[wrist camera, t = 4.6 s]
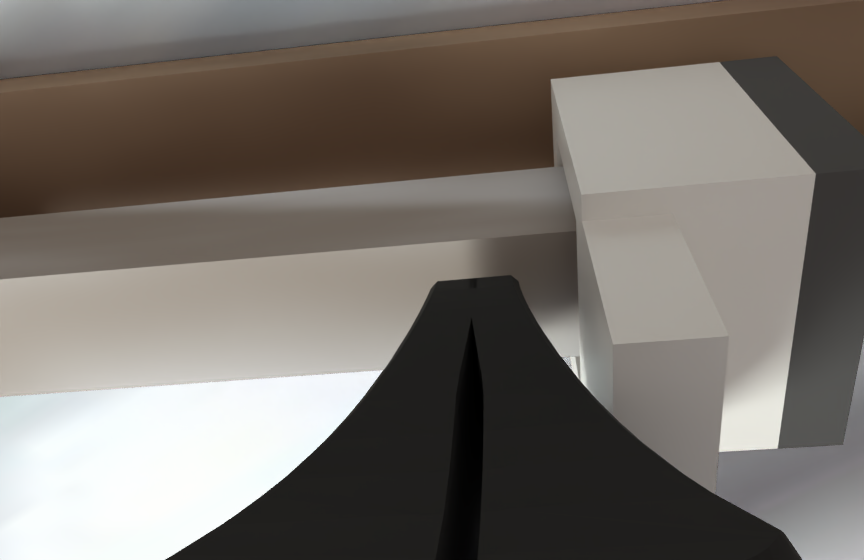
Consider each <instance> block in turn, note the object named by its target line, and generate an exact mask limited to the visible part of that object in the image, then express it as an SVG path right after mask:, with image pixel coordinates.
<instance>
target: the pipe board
mask: <svg viewBox="0 0 864 560" xmlns="http://www.w3.org/2000/svg"><path fill="white" fill-rule="evenodd" d="M773 56H777V57H778V58H779V59H781V60H782V61H783V62H784V63H785V64H786V65H787V66H788V67H789V68H790V69H791V70H792V71H794V72H795V73H796V74H797V75H798V76H799V77H800V78H801V79H802V80H803V81H804V82H806V83H807V84H808V85H809V86H810V87H811V88H812V89H813V90H814V91H815V92H816V93H817V94H819V95H820V96H821V97H822V98H823V99H824V100H825V101H826V102H827V103H828V104H829V105H830V106H832V107H833V108H834V109H835V110H836V111H837V112H838V113H839V114H840V115H841V116H842V117H844V118H845V119H846V120H847V121H848V122H849V123H850V124H851V125H852V126H853V127H854V128H855V129H857V130H858V131H859V132H860V133H861V134H862V135H863V136H864V0H725V1H716V2H707V3H698V4H688V5H679V6H670V7H661V8H652V9H643V10H633V11H624V12H615V13H606V14H597V15H588V16H578V17H569V18H560V19H551V20H542V21H532V22H523V23H514V24H505V25H496V26H487V27H477V28H468V29H459V30H450V31H441V32H432V33H422V34H413V35H404V36H395V37H386V38H377V39H367V40H358V41H349V42H340V43H331V44H322V45H312V46H303V47H294V48H285V49H276V50H266V51H257V52H248V53H239V54H230V55H221V56H211V57H202V58H193V59H184V60H175V61H166V62H156V63H147V64H138V65H129V66H120V67H111V68H101V69H92V70H83V71H74V72H65V73H56V74H46V75H37V76H28V77H19V78H10V79H0V397H5V396H20V395H34V394H48V393H62V392H77V391H91V390H105V389H119V388H134V387H148V386H162V385H176V384H190V383H205V382H219V381H233V380H247V379H262V378H276V377H290V376H304V375H319V374H333V373H347V372H361V371H376V370H384V369H385V367H386V366H387V365H388V363H389V362H390V360H391V359H392V357H393V355H394V354H395V352H396V351H397V349H398V348H399V346H400V344H401V343H402V341H403V340H404V338H405V336H406V335H407V333H408V332H409V330H410V328H411V326H412V325H413V323H414V321H415V319H416V317H417V316H418V314H419V312H420V310H421V308H422V306H423V304H424V302H425V300H426V298H427V296H428V294H429V291H430V289H431V288H432V286H433V285H434V284H435V283H436V282H437V281H446V280H458V279H469V278H481V277H493V276H505V275H511V276H513V277H514V278H515V279H516V280H518V281H519V285H520V288H521V291H522V294H523V296H524V298H525V300H526V302H527V304H528V306H529V308H530V310H531V312H532V313H533V315H534V317H535V319H536V321H537V322H538V324H539V325H540V327H541V329H542V330H543V332H544V333H545V335H546V336H547V337H548V339H549V340H550V342H551V343H552V345H553V346H554V348H555V349H556V350H557V352H558V353H559V355H560V356H561V357H575V356H580V339H579V305H578V270H577V235H576V218H575V213H574V209H573V205H572V201H571V197H570V193H569V188H568V184H567V180H566V176H565V172H564V168H563V166H560V167H554V149H553V126H552V103H551V79H557V78H567V77H577V76H587V75H597V74H606V73H616V72H626V71H636V70H646V69H655V68H665V67H675V66H685V65H694V64H704V63H714V62H724V61H734V60H743V59H753V58H763V57H773Z"/></svg>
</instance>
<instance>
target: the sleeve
mask: <svg viewBox="0 0 864 560" xmlns="http://www.w3.org/2000/svg"><path fill="white" fill-rule="evenodd" d="M551 103H552V126H553V149H554V167H560V166H563V168H564V172H565V176H566V180H567V184H568V188H569V193H570V197H571V201H572V205H573V209H574V213H575V218H576V235H577V270H578V305H579V339H580V356H575V357H570V360H571V366H572V371H573V373H574V374H575V375H576V376H577V377H578V379H579V380H580V381H581V382H582V383H583V385H584V386H585V387H586V388H587V389H588V390H589V391H590V392H591V394H592V395H593V396H594V397H595V398H596V399H597V400H598V401H599V402H600V403H601V404H602V405H603V406H604V407H605V408H606V409H607V410H608V411H609V412H610V413H611V414H612V415H613V416H614V417H615V418H616V419H617V420H618V421H619V422H620V423H621V424H622V425H623V426H625V427H626V428H627V429H628V430H629V431H630V432H631V433H632V434H634V435H635V436H636V437H637V438H638V439H639V440H640V441H641V442H643V443H644V444H645V445H646V446H648V447H649V448H650V449H652V450H653V451H654V452H656V453H657V454H658V455H659V456H661V457H662V458H663V459H665V460H666V461H667V462H669V463H670V464H671V465H673V466H674V467H675V468H676V469H678V470H679V471H680V472H682V473H683V474H684V475H686V476H687V477H689V478H691V479H692V480H694V481H695V482H697V483H698V484H700V485H701V486H703V487H704V488H706V489H707V490H709V491H710V492H712V493H714V494H715V490H716V479H717V468H718V457H719V452H727V451H744V450H761V449H778V443H779V435H780V428H781V421H782V414H783V406H784V399H785V392H786V385H787V378H788V370H789V363H790V356H791V349H792V342H793V335H794V327H795V320H796V313H797V306H798V299H799V291H800V284H801V277H802V270H803V263H804V256H805V248H806V241H807V234H808V227H809V220H810V212H811V205H812V198H813V191H814V184H815V177H816V173H815V172H814V171H813V170H812V169H811V168H810V166H809V165H808V164H807V163H806V162H805V161H804V159H803V158H802V157H801V156H800V155H799V154H798V153H797V151H796V150H795V149H794V148H793V147H792V146H791V144H790V143H789V142H788V141H787V140H786V139H785V138H784V136H783V135H782V134H781V133H780V132H779V131H778V129H777V128H776V127H775V126H774V125H773V124H772V123H771V121H770V120H769V119H768V118H767V117H766V116H765V114H764V113H763V112H762V111H761V110H760V109H759V107H758V106H757V105H756V104H755V103H754V102H753V101H752V99H751V98H750V97H749V96H748V95H747V94H746V92H745V91H744V90H743V89H742V88H741V87H740V86H739V84H738V83H737V82H736V81H735V80H734V79H733V77H732V76H731V75H730V74H729V73H728V72H727V70H726V69H725V68H724V67H723V66H722V65H721V64H720V62H714V63H704V64H694V65H685V66H675V67H665V68H655V69H646V70H636V71H626V72H616V73H606V74H597V75H587V76H577V77H567V78H557V79H551Z"/></svg>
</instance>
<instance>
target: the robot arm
mask: <svg viewBox="0 0 864 560" xmlns="http://www.w3.org/2000/svg"><path fill="white" fill-rule="evenodd" d="M166 560H802V559H801V557H800V556H799V554H798V553H797V551H796V550H795V548H794V547H793V545H792V544H791V542H790V541H789V539H788V538H787V537H786V535H785V534H784V533H783V532H782V531H781V530H779V529H777V528H775V527H774V526H772V525H770V524H768V523H766V522H764V521H763V520H761V519H759V518H757V517H755V516H753V515H752V514H750V513H748V512H746V511H744V510H742V509H741V508H739V507H737V506H735V505H733V504H731V503H730V502H728V501H726V500H724V499H722V498H720V497H719V496H717V495H715V494H714V493H712V492H710V491H709V490H707V489H706V488H704V487H703V486H701V485H700V484H698V483H697V482H695V481H694V480H692V479H691V478H689V477H687V476H686V475H684V474H683V473H682V472H680V471H679V470H678V469H676V468H675V467H674V466H673V465H671V464H670V463H669V462H667V461H666V460H665V459H663V458H662V457H661V456H659V455H658V454H657V453H656V452H654V451H653V450H652V449H650V448H649V447H648V446H646V445H645V444H644V443H643V442H641V441H640V440H639V439H638V438H637V437H636V436H635V435H634V434H632V433H631V432H630V431H629V430H628V429H627V428H626V427H625V426H623V425H622V424H621V423H620V422H619V421H618V420H617V419H616V418H615V417H614V416H613V415H612V414H611V413H610V412H609V411H608V410H607V409H606V408H605V407H604V406H603V405H602V404H601V403H600V402H599V401H598V400H597V399H596V398H595V397H594V396H593V395H592V394H591V392H590V391H589V390H588V389H587V388H586V387H585V386H584V385H583V383H582V382H581V381H580V380H579V379H578V377H577V376H576V375H575V374H574V373H573V371H572V370H571V369H570V368H569V366H568V365H567V364H566V363H565V361H564V360H563V359H562V357H561V356H560V355H559V353H558V352H557V350H556V349H555V348H554V346H553V345H552V343H551V342H550V340H549V339H548V337H547V336H546V335H545V333H544V332H543V330H542V329H541V327H540V325H539V324H538V322H537V321H536V319H535V317H534V315H533V313H532V312H531V310H530V308H529V306H528V304H527V302H526V300H525V298H524V296H523V294H522V291H521V288H520V285H519V281H518V280H516V279H515V278H514V277H513V276H511V275H505V276H493V277H481V278H469V279H458V280H446V281H437V282H436V283H435V284H434V285H433V286H432V288H431V289H430V291H429V294H428V296H427V298H426V300H425V302H424V304H423V306H422V308H421V310H420V312H419V314H418V316H417V317H416V319H415V321H414V323H413V325H412V326H411V328H410V330H409V332H408V333H407V335H406V336H405V338H404V340H403V341H402V343H401V344H400V346H399V348H398V349H397V351H396V352H395V354H394V355H393V357H392V359H391V360H390V362H389V363H388V365H387V366H386V367H385V369H384V370H383V371H382V373H381V374H380V375H379V377H378V378H377V380H376V381H375V382H374V384H373V385H372V386H371V388H370V389H369V390H368V392H367V393H366V395H365V396H364V397H363V398H362V400H361V401H360V402H359V403H358V404H357V406H356V407H355V408H354V409H353V411H352V412H351V413H350V414H349V415H348V416H347V417H346V419H345V420H344V421H343V422H342V423H341V424H340V425H339V426H338V427H337V429H336V430H335V431H334V432H333V433H332V434H331V435H330V436H329V437H328V438H327V439H326V440H325V441H324V442H323V443H322V444H321V445H320V446H319V447H318V448H317V449H316V450H315V451H314V452H313V453H312V454H311V455H310V456H308V457H307V458H306V459H305V460H304V461H303V462H302V463H301V464H300V465H299V466H297V467H296V468H295V469H294V470H293V471H292V472H291V473H290V474H289V475H287V476H286V477H285V478H284V479H283V480H281V481H280V482H279V483H278V484H276V485H275V486H274V487H273V488H271V489H270V490H269V491H268V492H266V493H265V494H264V495H262V496H261V497H260V498H259V499H257V500H256V501H254V502H253V503H252V504H250V505H249V506H248V507H246V508H245V509H243V510H242V511H241V512H239V513H238V514H237V515H235V516H234V517H232V518H231V519H229V520H228V521H226V522H225V523H224V524H222V525H221V526H219V527H217V528H216V529H214V530H213V531H211V532H209V533H208V534H206V535H205V536H203V537H201V538H200V539H198V540H197V541H195V542H193V543H192V544H190V545H189V546H187V547H185V548H184V549H182V550H181V551H179V552H177V553H176V554H174V555H173V556H171V557H169V558H167V559H166Z"/></svg>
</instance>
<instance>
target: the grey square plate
mask: <svg viewBox="0 0 864 560" xmlns="http://www.w3.org/2000/svg"><path fill="white" fill-rule="evenodd" d="M720 64H721V65H722V66H723V67H724V68H725V69H726V70H727V72H728V73H729V74H730V75H731V76H732V77H733V79H734V80H735V81H736V82H737V83H738V84H739V86H740V87H741V88H742V89H743V90H744V91H745V92H746V94H747V95H748V96H749V97H750V98H751V99H752V101H753V102H754V103H755V104H756V105H757V106H758V107H759V109H760V110H761V111H762V112H763V113H764V114H765V116H766V117H767V118H768V119H769V120H770V121H771V123H772V124H773V125H774V126H775V127H776V128H777V129H778V131H779V132H780V133H781V134H782V135H783V136H784V138H785V139H786V140H787V141H788V142H789V143H790V144H791V146H792V147H793V148H794V149H795V150H796V151H797V153H798V154H799V155H800V156H801V157H802V158H803V159H804V161H805V162H806V163H807V164H808V165H809V166H810V168H811V169H812V170H813V171H814V172H815V173H816V177H815V184H814V191H813V198H812V205H811V212H810V220H809V227H808V234H807V241H806V248H805V256H804V263H803V270H802V277H801V284H800V291H799V299H798V306H797V313H796V320H795V327H794V335H793V342H792V349H791V356H790V363H789V370H788V378H787V385H786V392H785V399H784V406H783V414H782V421H781V428H780V435H779V443H778V448H796V447H813V446H830V445H843V441H844V436H845V431H846V426H847V420H848V415H849V410H850V405H851V400H852V395H853V390H854V385H855V379H856V374H857V369H858V364H859V359H860V354H861V349H862V343H863V338H864V136H863V135H862V134H861V133H860V132H859V131H858V130H857V129H855V128H854V127H853V126H852V125H851V124H850V123H849V122H848V121H847V120H846V119H845V118H844V117H842V116H841V115H840V114H839V113H838V112H837V111H836V110H835V109H834V108H833V107H832V106H830V105H829V104H828V103H827V102H826V101H825V100H824V99H823V98H822V97H821V96H820V95H819V94H817V93H816V92H815V91H814V90H813V89H812V88H811V87H810V86H809V85H808V84H807V83H806V82H804V81H803V80H802V79H801V78H800V77H799V76H798V75H797V74H796V73H795V72H794V71H792V70H791V69H790V68H789V67H788V66H787V65H786V64H785V63H784V62H783V61H782V60H781V59H779V58H778V57H777V56H773V57H763V58H753V59H743V60H734V61H724V62H720Z"/></svg>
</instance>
